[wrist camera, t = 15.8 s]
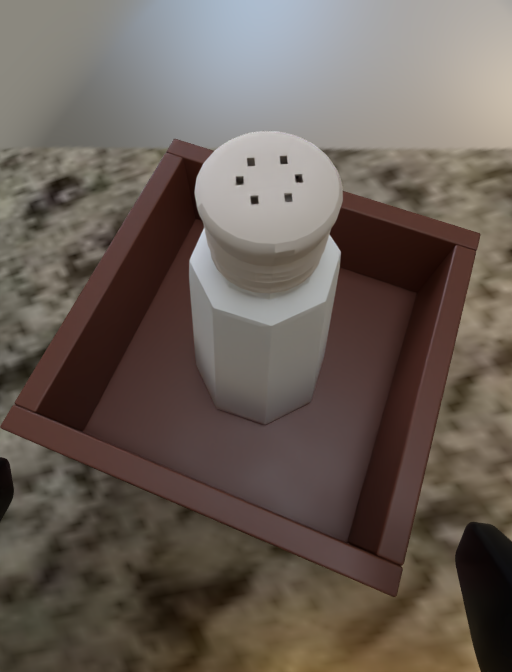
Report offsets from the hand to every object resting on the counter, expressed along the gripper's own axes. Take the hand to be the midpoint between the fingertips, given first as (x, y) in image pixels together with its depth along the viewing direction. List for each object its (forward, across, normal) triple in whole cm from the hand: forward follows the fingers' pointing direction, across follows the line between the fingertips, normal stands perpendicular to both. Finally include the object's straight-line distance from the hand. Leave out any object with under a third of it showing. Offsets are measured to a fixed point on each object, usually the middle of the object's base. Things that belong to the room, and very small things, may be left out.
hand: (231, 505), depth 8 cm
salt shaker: (+10, 0, +2) cm, 10 cm away
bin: (+10, 0, +2) cm, 11 cm away
